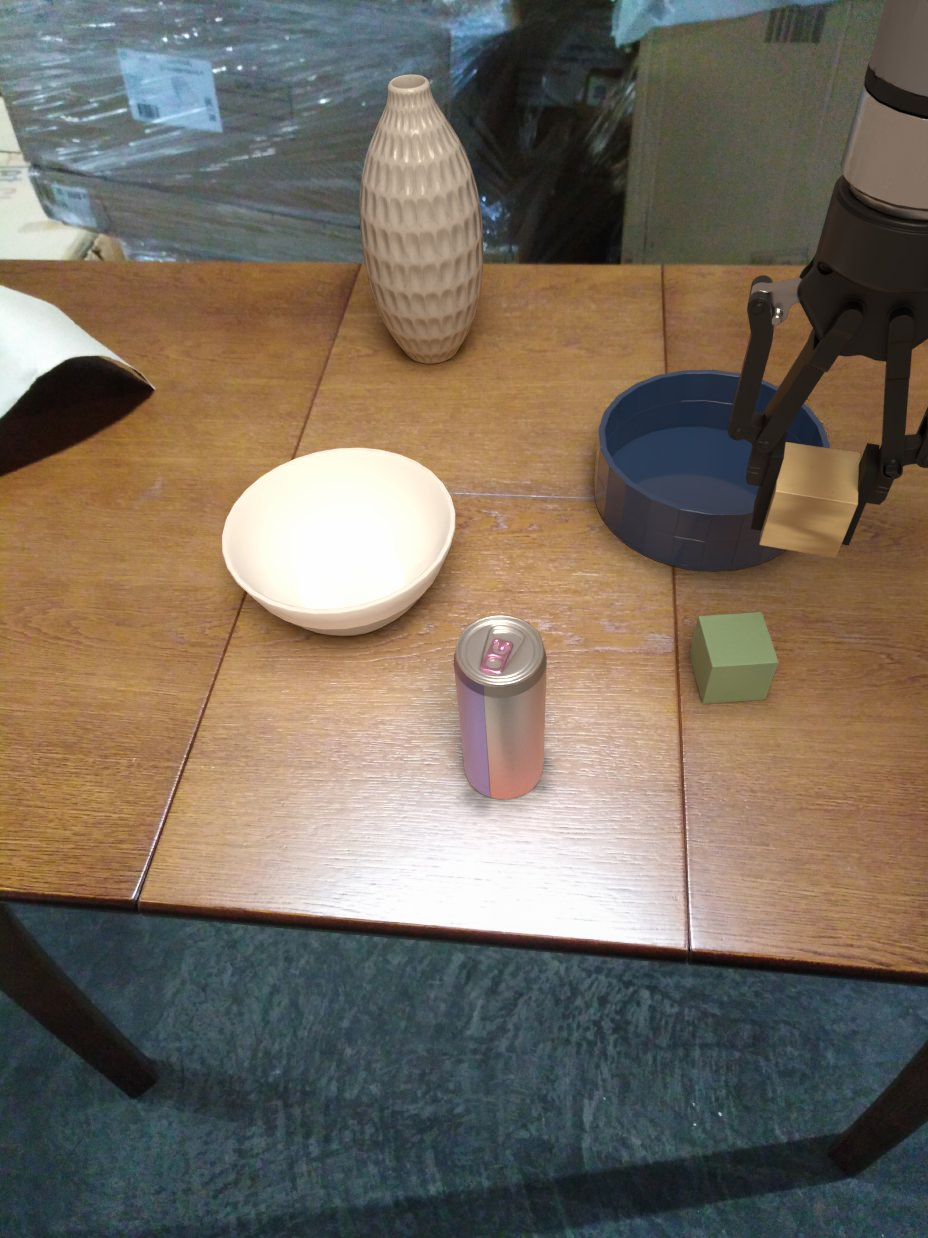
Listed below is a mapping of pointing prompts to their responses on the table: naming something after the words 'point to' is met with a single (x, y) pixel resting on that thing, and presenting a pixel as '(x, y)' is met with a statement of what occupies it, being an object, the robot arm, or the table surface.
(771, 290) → the robot arm
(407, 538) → the bowl
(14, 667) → the table surface
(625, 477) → the navy round tub
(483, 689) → the beverage can
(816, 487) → the beech block
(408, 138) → the vase
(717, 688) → the sage block
